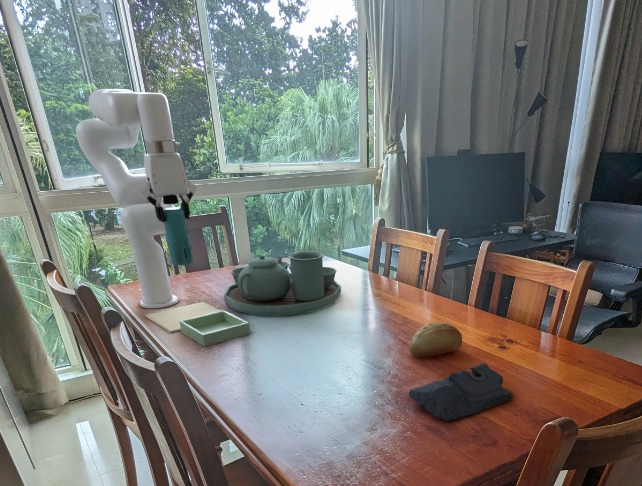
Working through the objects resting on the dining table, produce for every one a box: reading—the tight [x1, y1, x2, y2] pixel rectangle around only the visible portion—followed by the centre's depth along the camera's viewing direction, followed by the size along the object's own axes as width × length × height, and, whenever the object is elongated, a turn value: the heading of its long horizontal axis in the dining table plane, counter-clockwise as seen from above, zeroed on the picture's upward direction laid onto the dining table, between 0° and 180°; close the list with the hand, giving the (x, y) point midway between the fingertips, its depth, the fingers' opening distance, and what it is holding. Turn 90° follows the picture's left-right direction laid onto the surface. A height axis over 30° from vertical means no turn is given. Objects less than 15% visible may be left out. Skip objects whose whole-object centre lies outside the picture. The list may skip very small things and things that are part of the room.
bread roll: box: [409, 321, 463, 358], centre depth 132 cm, size 10×15×8 cm, turn 114°
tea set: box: [223, 250, 342, 317], centre depth 174 cm, size 40×40×16 cm
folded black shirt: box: [408, 362, 513, 422], centre depth 112 cm, size 15×22×5 cm
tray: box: [179, 309, 251, 347], centre depth 150 cm, size 16×15×3 cm
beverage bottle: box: [163, 194, 194, 266], centre depth 147 cm, size 6×7×20 cm
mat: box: [145, 301, 221, 334], centre depth 163 cm, size 20×20×1 cm
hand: (174, 219), depth 145 cm, fingers closed on beverage bottle, 6 cm apart
